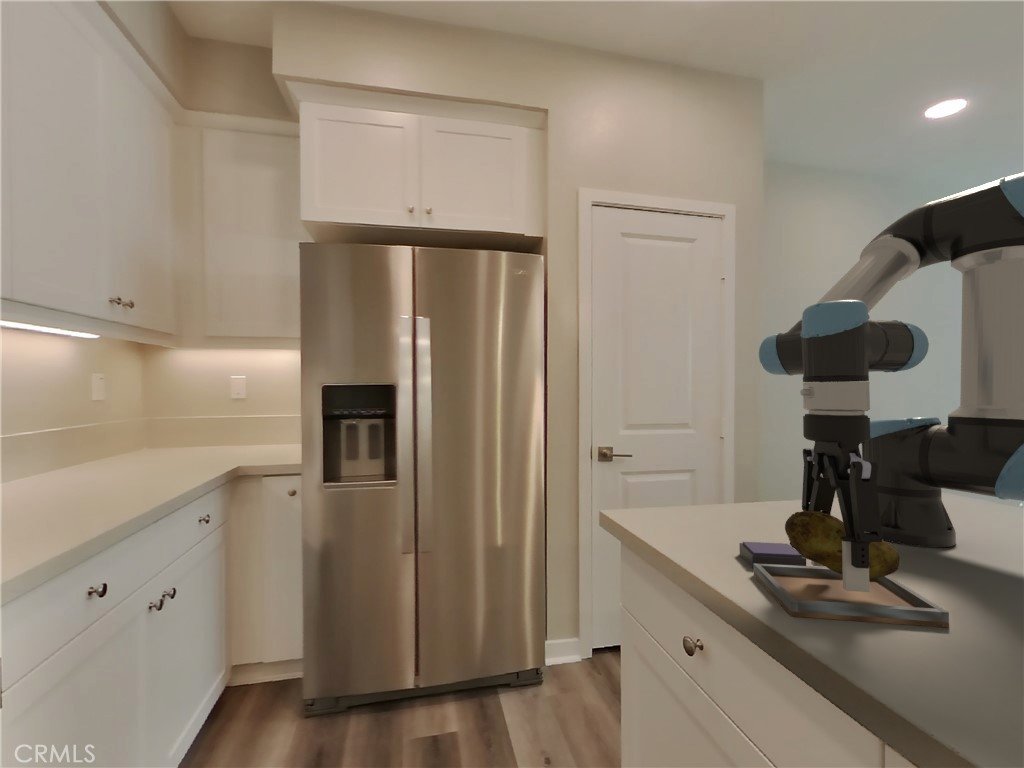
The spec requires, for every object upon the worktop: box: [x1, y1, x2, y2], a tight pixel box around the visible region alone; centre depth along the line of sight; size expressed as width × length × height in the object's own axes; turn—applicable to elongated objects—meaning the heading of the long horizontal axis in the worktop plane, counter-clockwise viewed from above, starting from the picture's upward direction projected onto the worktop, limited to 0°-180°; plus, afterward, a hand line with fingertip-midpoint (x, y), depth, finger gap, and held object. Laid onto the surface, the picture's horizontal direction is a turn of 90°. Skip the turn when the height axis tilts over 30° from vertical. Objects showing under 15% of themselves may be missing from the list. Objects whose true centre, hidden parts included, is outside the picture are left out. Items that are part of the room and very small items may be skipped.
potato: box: [784, 510, 900, 578], centre depth 60 cm, size 8×13×8 cm, turn 55°
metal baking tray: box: [753, 563, 950, 628], centre depth 60 cm, size 18×13×2 cm
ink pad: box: [739, 541, 807, 569], centre depth 73 cm, size 8×6×2 cm
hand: (838, 576), depth 60 cm, fingers closed on potato, 7 cm apart
